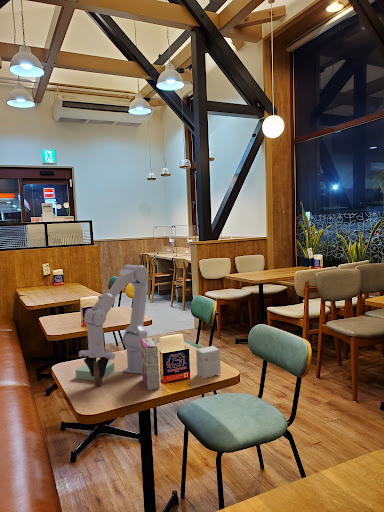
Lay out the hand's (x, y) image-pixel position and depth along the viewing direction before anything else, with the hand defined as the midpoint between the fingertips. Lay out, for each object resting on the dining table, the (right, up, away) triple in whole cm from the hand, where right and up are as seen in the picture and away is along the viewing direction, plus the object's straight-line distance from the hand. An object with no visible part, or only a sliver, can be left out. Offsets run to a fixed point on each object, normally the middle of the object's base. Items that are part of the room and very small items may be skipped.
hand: (98, 376), depth 144 cm
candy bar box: (+20, -3, 0) cm, 20 cm away
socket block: (-4, -3, +11) cm, 12 cm away
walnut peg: (0, -3, 0) cm, 3 cm away
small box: (+42, -2, +7) cm, 43 cm away
